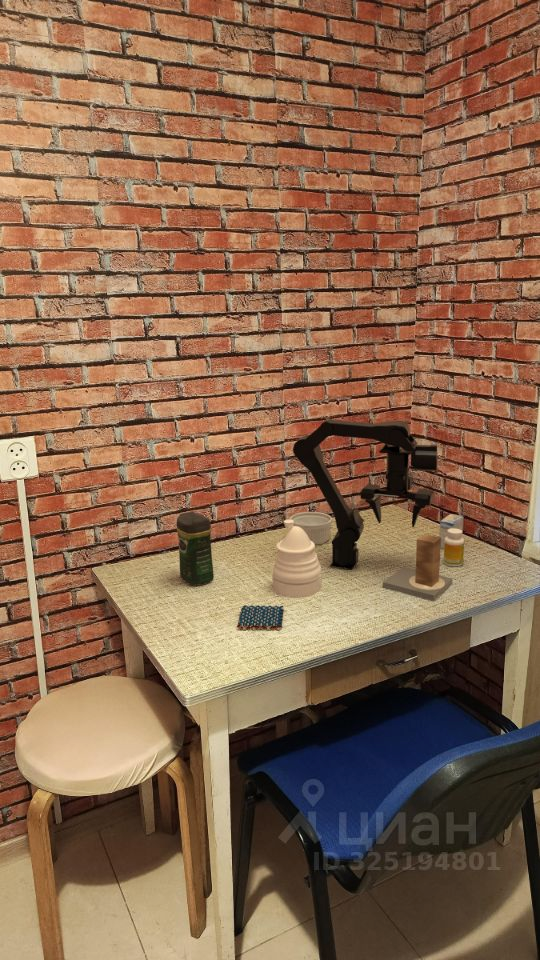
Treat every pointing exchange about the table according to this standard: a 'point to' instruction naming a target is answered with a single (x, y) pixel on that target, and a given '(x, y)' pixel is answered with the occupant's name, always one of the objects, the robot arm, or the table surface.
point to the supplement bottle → (453, 548)
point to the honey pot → (296, 565)
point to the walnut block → (428, 560)
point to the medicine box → (450, 526)
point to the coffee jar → (195, 548)
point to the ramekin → (314, 525)
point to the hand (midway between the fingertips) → (396, 524)
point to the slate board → (415, 584)
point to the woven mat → (260, 617)
